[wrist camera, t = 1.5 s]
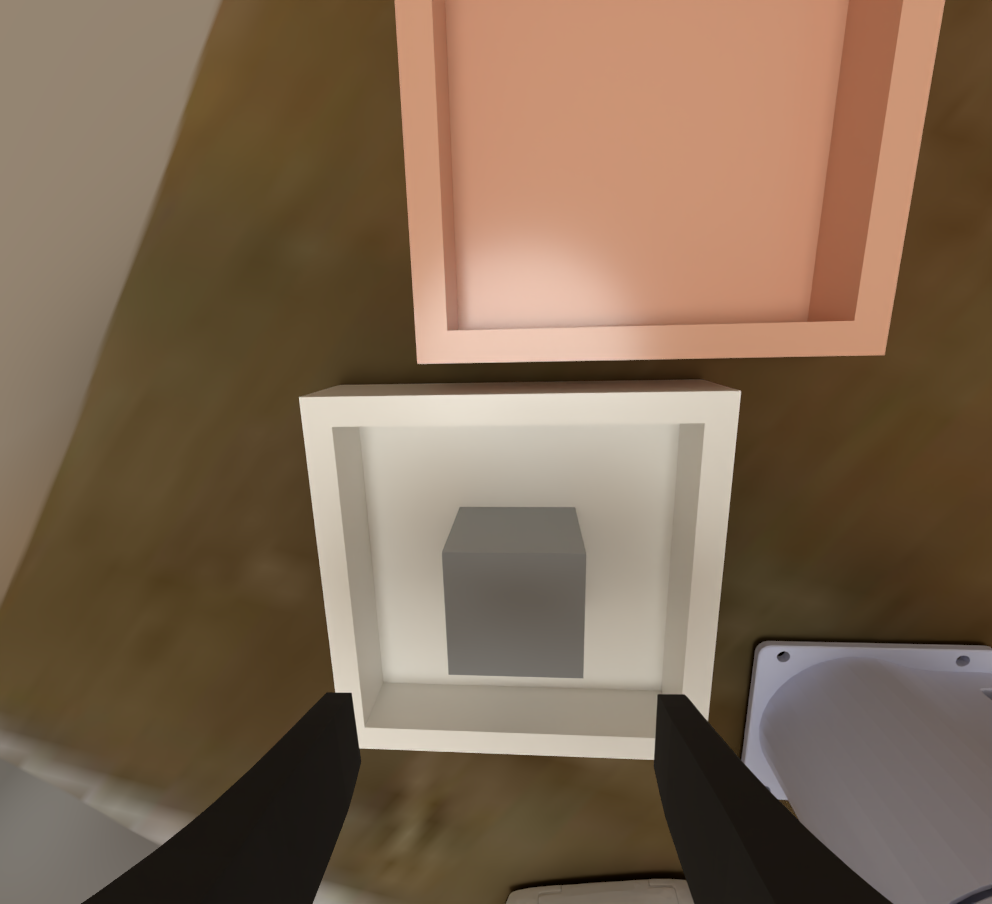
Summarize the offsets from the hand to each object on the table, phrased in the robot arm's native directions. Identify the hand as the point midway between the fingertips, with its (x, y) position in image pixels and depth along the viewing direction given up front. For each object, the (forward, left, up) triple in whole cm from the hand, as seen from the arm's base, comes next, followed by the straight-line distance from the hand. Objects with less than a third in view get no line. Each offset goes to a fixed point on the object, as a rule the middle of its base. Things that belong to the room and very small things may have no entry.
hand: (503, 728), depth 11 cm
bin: (-4, -15, -10) cm, 18 cm away
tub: (0, 0, -10) cm, 10 cm away
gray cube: (0, 0, -9) cm, 9 cm away
